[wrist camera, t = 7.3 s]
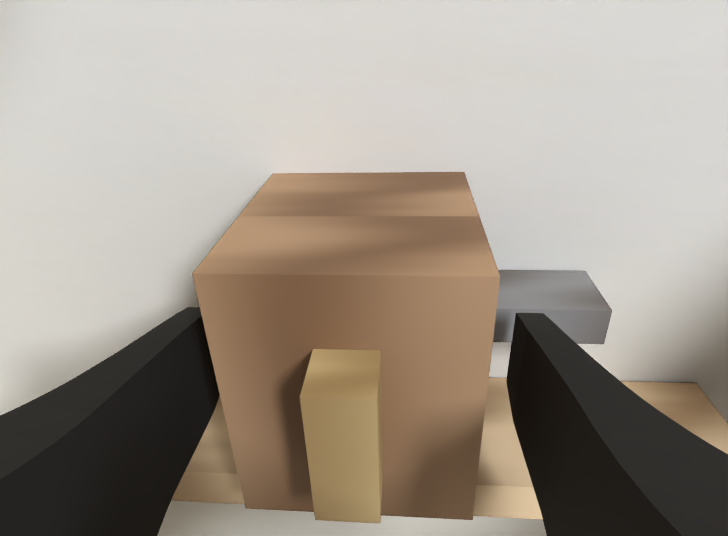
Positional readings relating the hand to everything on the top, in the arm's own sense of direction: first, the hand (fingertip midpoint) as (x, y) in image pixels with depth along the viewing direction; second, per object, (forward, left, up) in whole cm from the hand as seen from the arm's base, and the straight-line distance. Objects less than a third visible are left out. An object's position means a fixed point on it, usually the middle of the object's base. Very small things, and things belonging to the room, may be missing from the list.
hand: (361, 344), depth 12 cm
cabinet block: (0, 0, -3) cm, 3 cm away
